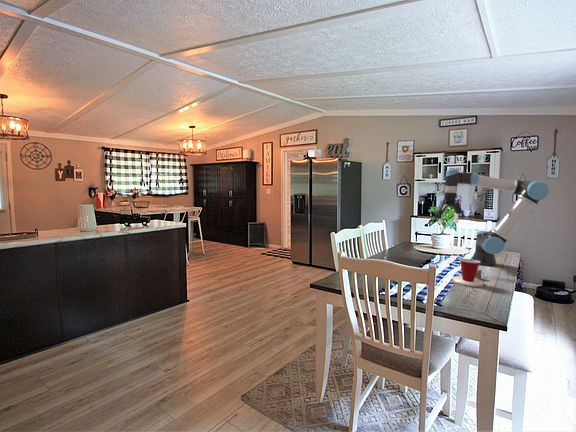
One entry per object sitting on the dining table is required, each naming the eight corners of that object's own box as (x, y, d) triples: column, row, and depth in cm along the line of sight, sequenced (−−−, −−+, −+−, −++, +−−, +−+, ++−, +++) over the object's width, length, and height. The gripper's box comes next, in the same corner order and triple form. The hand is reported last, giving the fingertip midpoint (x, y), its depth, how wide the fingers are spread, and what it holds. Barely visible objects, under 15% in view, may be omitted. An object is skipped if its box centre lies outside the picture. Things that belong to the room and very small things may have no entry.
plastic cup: (476, 278, 200) (478, 258, 199) (480, 284, 190) (482, 263, 189) (456, 276, 204) (458, 256, 202) (458, 281, 194) (460, 261, 192)
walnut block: (472, 276, 210) (472, 268, 210) (480, 278, 206) (481, 270, 206) (468, 277, 207) (469, 269, 207) (477, 279, 203) (478, 271, 203)
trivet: (466, 277, 207) (467, 275, 207) (490, 285, 192) (490, 283, 192) (446, 279, 202) (446, 277, 202) (468, 288, 187) (468, 285, 187)
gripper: (460, 191, 238) (457, 222, 241) (431, 191, 230) (429, 223, 232) (469, 192, 231) (466, 223, 234) (440, 192, 223) (437, 224, 225)
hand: (448, 223), depth 233 cm, fingers open, 13 cm apart
